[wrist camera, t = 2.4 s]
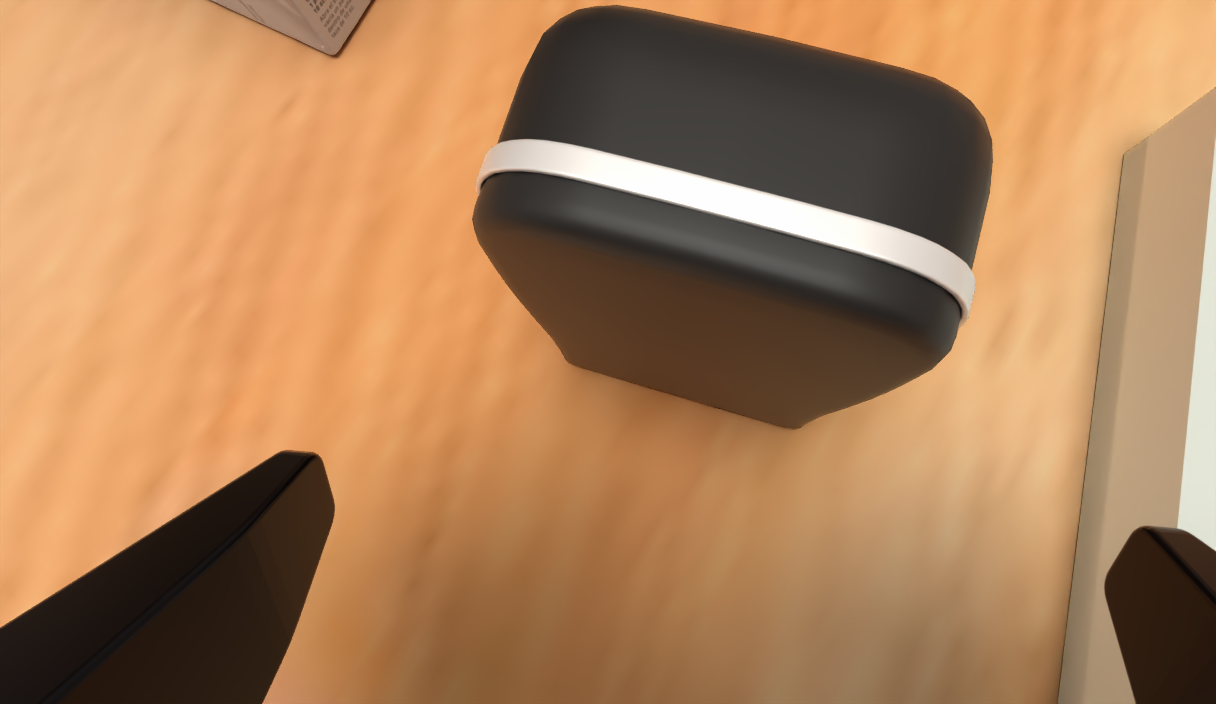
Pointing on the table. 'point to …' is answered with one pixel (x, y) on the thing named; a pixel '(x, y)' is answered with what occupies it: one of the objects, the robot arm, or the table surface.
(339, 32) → the coffee box
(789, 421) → the battery charger
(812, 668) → the table surface
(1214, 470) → the tray
